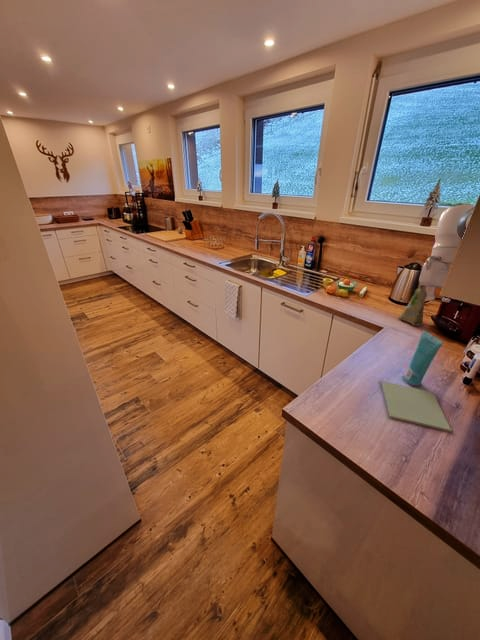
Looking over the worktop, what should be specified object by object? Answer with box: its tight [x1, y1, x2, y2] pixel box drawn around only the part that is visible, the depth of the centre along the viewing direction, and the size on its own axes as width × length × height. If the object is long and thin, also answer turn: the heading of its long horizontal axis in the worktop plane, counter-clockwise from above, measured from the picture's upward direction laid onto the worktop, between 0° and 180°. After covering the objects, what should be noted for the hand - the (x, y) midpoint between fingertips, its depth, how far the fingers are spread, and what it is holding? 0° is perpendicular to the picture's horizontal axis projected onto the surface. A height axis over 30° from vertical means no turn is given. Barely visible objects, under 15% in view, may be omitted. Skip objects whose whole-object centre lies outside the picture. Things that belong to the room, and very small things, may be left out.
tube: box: [404, 329, 445, 387], centre depth 90 cm, size 7×5×19 cm, turn 20°
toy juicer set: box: [322, 277, 368, 298], centre depth 166 cm, size 29×18×8 cm, turn 79°
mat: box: [381, 381, 452, 433], centre depth 84 cm, size 16×16×1 cm
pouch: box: [399, 283, 427, 327], centre depth 130 cm, size 11×12×25 cm
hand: (437, 301), depth 87 cm, fingers open, 8 cm apart
